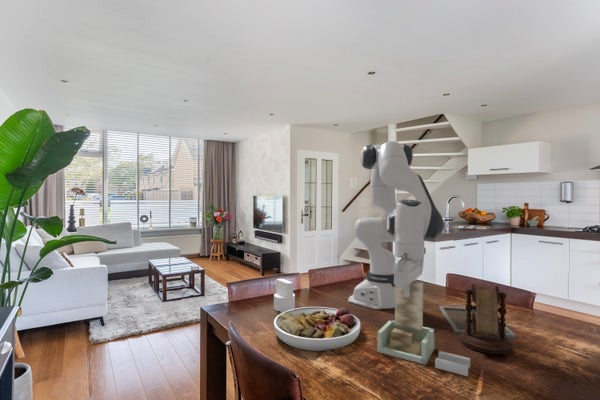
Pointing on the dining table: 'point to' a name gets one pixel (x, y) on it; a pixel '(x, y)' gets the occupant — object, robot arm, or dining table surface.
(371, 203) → the robot arm
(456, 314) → the framed board
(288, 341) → the bowl
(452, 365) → the holder
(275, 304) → the base with upright slab
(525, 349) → the dining table surface
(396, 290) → the beige streaked board
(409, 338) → the offcut short
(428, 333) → the box
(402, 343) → the offcut long
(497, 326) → the scroll
